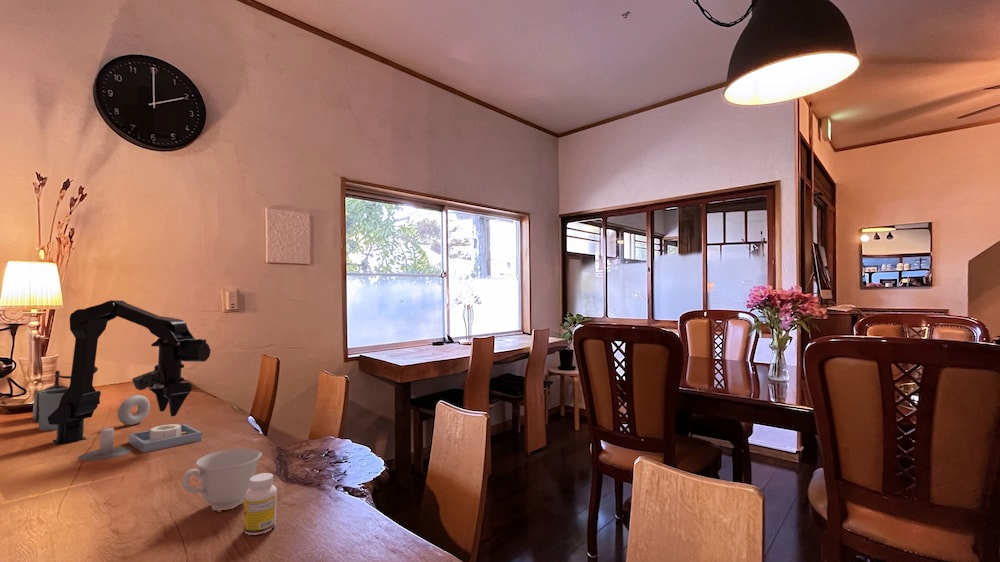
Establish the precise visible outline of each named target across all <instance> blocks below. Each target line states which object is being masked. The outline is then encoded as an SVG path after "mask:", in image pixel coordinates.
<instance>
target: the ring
mask: <svg viewBox="0 0 1000 562" xmlns="http://www.w3.org/2000/svg"><path fill="white" fill-rule="evenodd" d="M149 430H150V441H149V442H152V441H157V440H162V439H167V438H172V437H177V436H182V435H186V433H187V432H185V431H184V432H181V424H177V423H176V424H174V423H173V424H171V423H170V424H163V425H157V426H155V427H152V428H150V429H149Z"/></svg>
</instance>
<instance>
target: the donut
mask: <svg viewBox="0 0 1000 562" xmlns="http://www.w3.org/2000/svg"><path fill="white" fill-rule="evenodd" d="M134 406H137V410H136V411H135V413H134V414H132V409H133V407H134ZM150 409H151V402H150V401H149V399H148V398H147V396H145V395H142V394H134V395H131V396H129V397H127V398H125V399H124V400H123V401H122V402H121V404H120V405H119V407H118V409H117V419H118V420H119V421H120V423H122V424H123V425H125V426H126V425H127V426H133V425H134V424H135V425H137V424H140V423H141V422H142V421H143V420H145V419H146V418H147V417H148V415H149V413H150Z"/></svg>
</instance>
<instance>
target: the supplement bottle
mask: <svg viewBox="0 0 1000 562" xmlns="http://www.w3.org/2000/svg"><path fill="white" fill-rule="evenodd" d="M273 483H274V475H273V474H272V473H270V472H264V473H258V474H255V476H252V477H251V478H250V482H249V487H250V489H249V490H248V491H247V492H246V494H245V497H244V510H243V511H244V512H243V515H244V518H243V532H244V531H245V533H248V534H255V533H261V532H264V531H267V530H268V529H271V528H272V527H273V526H275V524H276V525H277V506H278V505H277V501H278V500H277V498H278V488H277V487H276V485H274V484H273ZM275 527H276V526H275ZM245 533H244V534H245Z"/></svg>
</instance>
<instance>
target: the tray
mask: <svg viewBox="0 0 1000 562" xmlns="http://www.w3.org/2000/svg"><path fill="white" fill-rule="evenodd" d="M180 425H181V432H184V431H185V432H187V433H186V435H182V436H177V437H172V438H167V439H162V440H157V441H152V442H149V441H150V429H149V430H145V431H138V432H134V433H129V434H128V443H129V444H130V445H132V446H133V447H134V448H136V449H137V450H138V451H140V452H142V453H143V454H144V453H150V452H154V451H158V450H163V449H167V448H172V447H173V448H174V447H176V446H182V445H187V444H190V443H196V442H202V438H203V432H202V431H200V430H198V429H197V428H194V427H192V426H190V425H188V424H185V423H182V424H180Z"/></svg>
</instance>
